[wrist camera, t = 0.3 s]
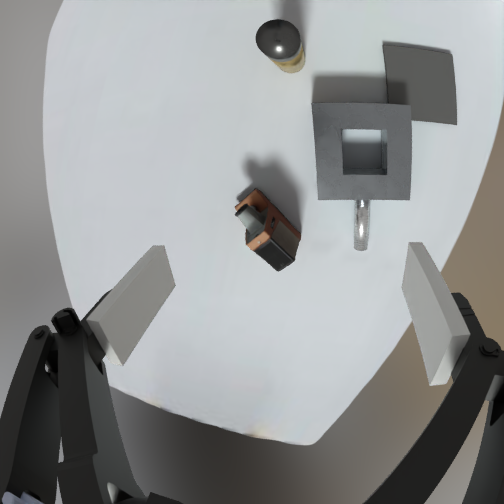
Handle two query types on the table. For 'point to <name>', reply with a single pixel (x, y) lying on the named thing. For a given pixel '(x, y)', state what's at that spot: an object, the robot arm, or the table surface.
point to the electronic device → (268, 230)
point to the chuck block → (363, 179)
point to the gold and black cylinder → (281, 45)
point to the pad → (422, 83)
